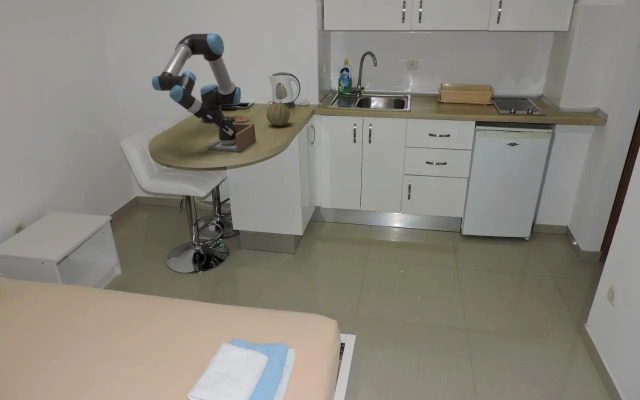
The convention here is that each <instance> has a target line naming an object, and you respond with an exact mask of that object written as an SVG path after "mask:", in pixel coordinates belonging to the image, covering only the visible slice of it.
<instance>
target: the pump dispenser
mask: <svg viewBox="0 0 640 400" xmlns="http://www.w3.org/2000/svg"><path fill="white" fill-rule="evenodd" d="M234 121H235V119H234V118H233V119H231V118H230V117H227V116H224V118H223V119H222V120H221V122H222V123H223V124H225V125H226V126H227V127H228V128H230V129H231V130H232V131H234V132H233V134H232V135H229V134H228V133H227V132H225V131H224V130H221V128H220V127H219V128H218V139H219V141H221V143H222V144H224V145H233V144H234V143H235V142H236V136H235V134H237V132H236V129H235V126H234V124H233V122H234Z"/></svg>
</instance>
